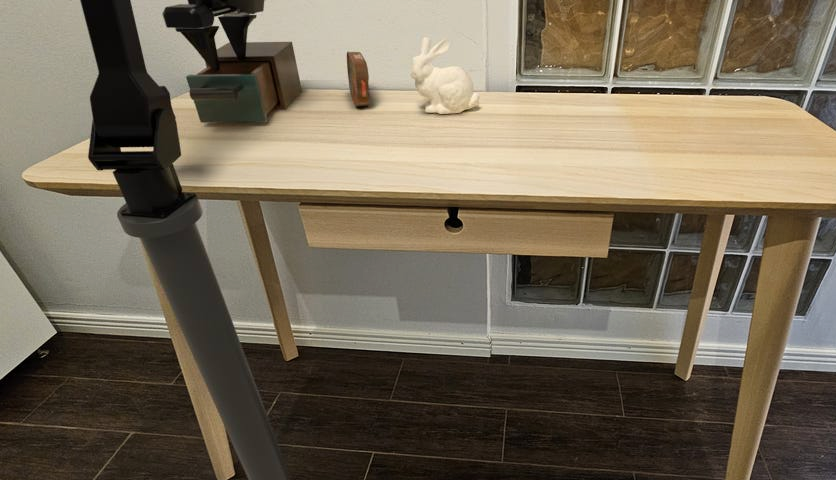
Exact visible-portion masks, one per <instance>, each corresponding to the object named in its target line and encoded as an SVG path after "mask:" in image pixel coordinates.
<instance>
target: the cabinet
mask: <svg viewBox="0 0 836 480" xmlns="http://www.w3.org/2000/svg"><path fill="white" fill-rule="evenodd" d="M216 49H217V54H218V60H219V62H232V61H240V60H239V59H238V58H237V56H236V54H235V52H234V50H233V48H232V46H231V44H230V42H226V43H225V44H223V45H222V46H220V47H219V48H216ZM244 61H270V62H271V67H272V71H273V75H274V80H275V84H276V88H277V93H278V97H279V102H278V103H277V104H276V105H275V106H274V107H273V108H272V109H271V110H270V111H272V110H287V109H288V108H289V106H290V105H291V104H292V103H293V102H294V101H295V100H296V99H297V98H298V96H299V95H300V94H301V93H302V92H303V88H302V83H301V79H300V74H299V69H298V65H297V60H296V55H295V49H294V45H293V41H247V43H246V58H245V60H244ZM204 62H205V66H206V67H205V68H207V67H208V66H209V65H208V64H207V63H206V61H205V60H204Z"/></svg>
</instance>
